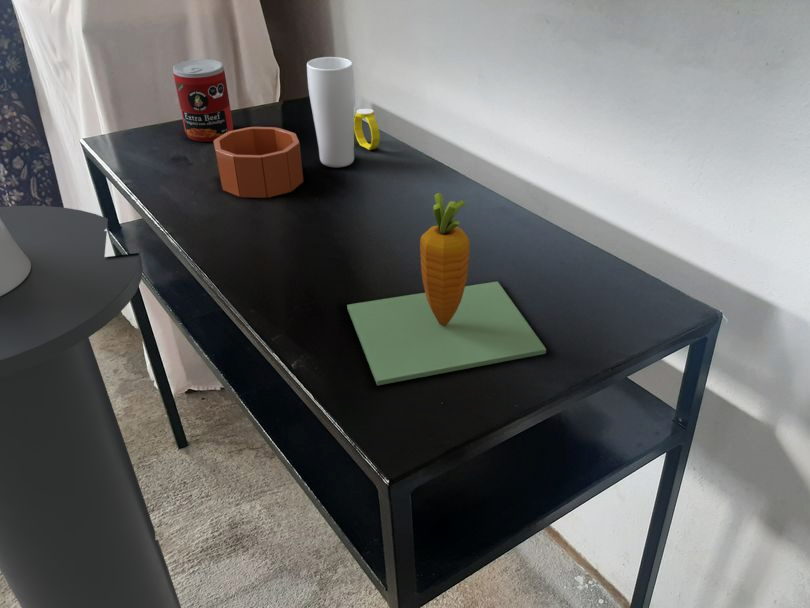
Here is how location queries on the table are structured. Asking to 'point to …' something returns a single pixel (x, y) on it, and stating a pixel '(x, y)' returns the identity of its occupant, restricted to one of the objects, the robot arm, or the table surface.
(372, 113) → the watch
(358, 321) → the mat
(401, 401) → the table surface
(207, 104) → the canned food
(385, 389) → the table surface
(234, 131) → the pot
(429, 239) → the carrot
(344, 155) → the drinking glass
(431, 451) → the table surface
